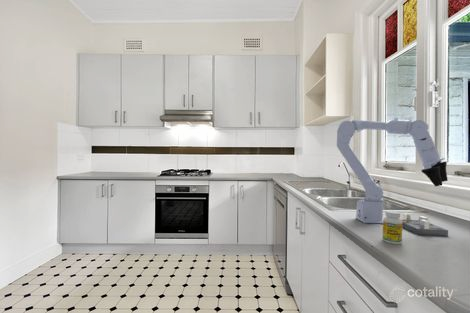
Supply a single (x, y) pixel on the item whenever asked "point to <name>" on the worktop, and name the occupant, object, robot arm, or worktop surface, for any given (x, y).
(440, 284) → the worktop surface
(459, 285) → the worktop surface
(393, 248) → the worktop surface
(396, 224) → the supplement bottle
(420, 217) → the white slider knob
